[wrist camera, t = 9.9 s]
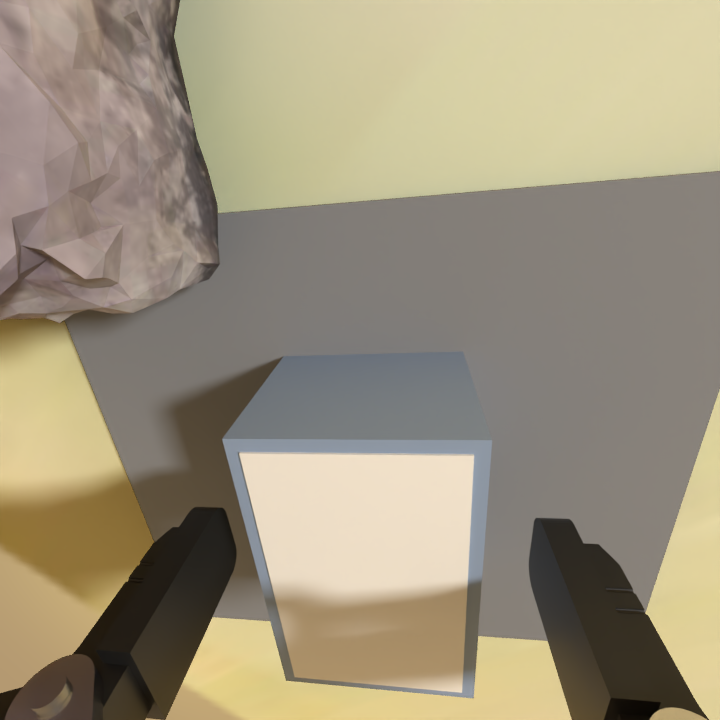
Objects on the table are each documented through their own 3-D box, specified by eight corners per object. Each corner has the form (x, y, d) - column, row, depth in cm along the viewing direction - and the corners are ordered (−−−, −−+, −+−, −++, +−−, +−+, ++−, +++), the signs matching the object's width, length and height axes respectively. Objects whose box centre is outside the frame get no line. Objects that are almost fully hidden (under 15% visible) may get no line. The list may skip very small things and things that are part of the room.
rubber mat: (46, 228, 11) (27, 229, 10) (769, 166, 8) (793, 165, 8) (191, 601, 17) (183, 614, 17) (625, 629, 15) (633, 647, 14)
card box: (317, 554, 14) (285, 682, 11) (283, 356, 11) (220, 440, 7) (456, 561, 14) (473, 700, 10) (463, 351, 10) (492, 442, 7)
